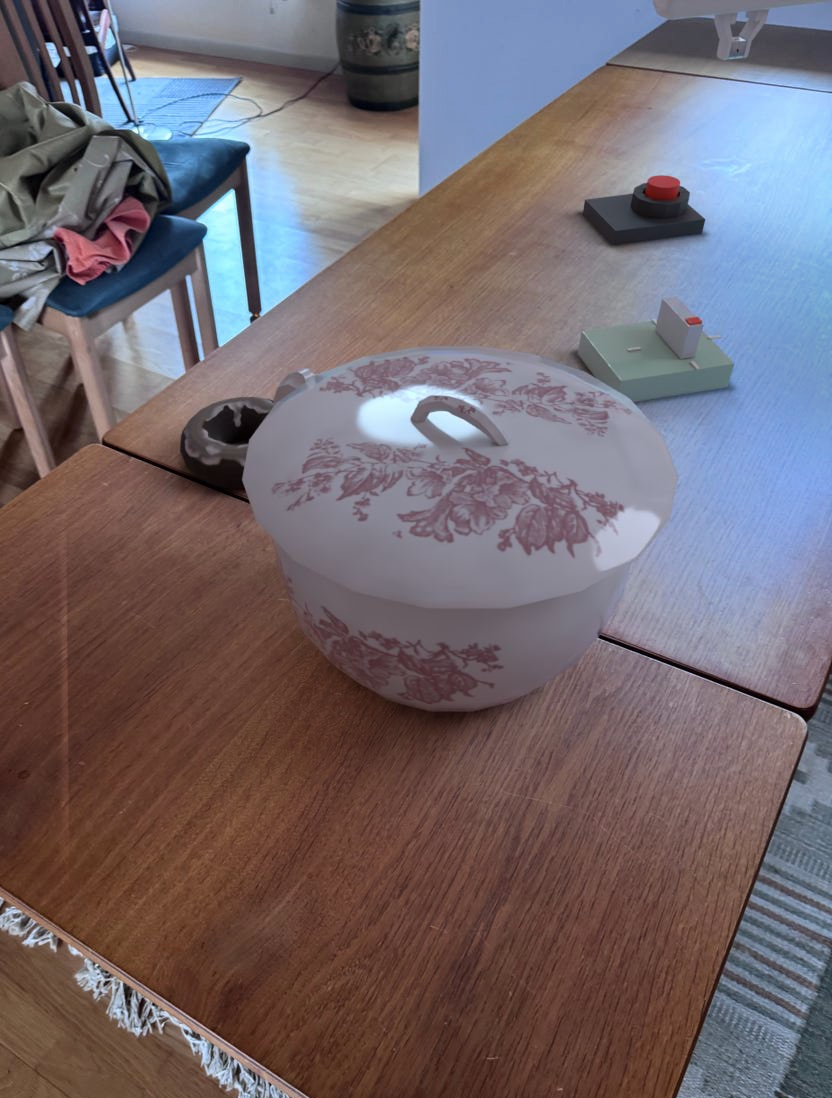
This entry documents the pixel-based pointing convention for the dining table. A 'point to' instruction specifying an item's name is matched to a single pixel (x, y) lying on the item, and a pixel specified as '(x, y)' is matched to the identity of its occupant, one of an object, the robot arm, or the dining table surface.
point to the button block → (643, 217)
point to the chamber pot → (456, 516)
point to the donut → (222, 439)
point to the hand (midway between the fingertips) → (731, 57)
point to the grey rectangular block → (679, 327)
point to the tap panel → (651, 362)
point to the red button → (662, 187)
